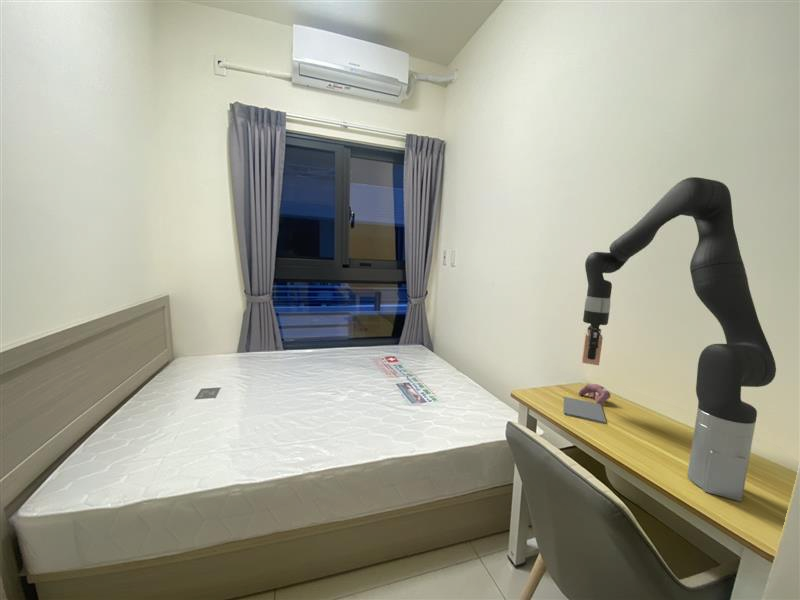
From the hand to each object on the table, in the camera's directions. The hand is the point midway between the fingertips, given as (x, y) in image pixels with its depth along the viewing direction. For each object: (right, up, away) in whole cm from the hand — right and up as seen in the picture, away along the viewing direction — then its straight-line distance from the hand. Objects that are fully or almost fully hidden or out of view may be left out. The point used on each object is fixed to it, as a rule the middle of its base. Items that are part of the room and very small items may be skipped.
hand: (590, 356), depth 114 cm
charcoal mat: (-4, -18, -2) cm, 19 cm away
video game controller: (+6, -18, +8) cm, 21 cm away
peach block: (0, -2, 0) cm, 2 cm away
